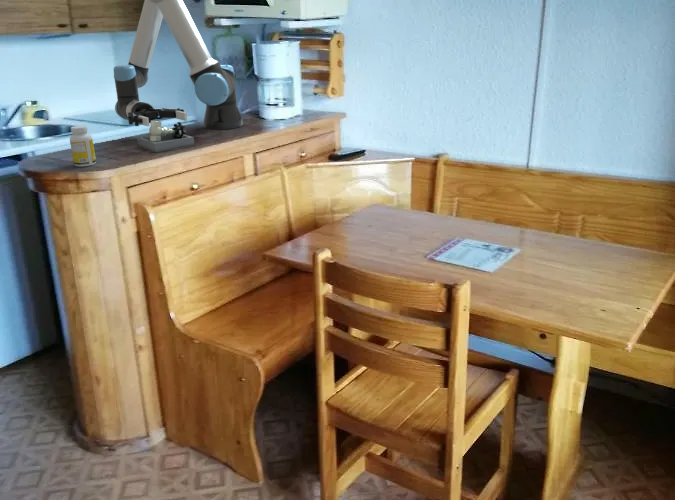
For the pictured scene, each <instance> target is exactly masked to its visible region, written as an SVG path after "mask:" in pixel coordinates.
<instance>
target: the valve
mask: <svg viewBox="0 0 675 500" xmlns="http://www.w3.org/2000/svg"><path fill="white" fill-rule="evenodd" d="M185 127H186V126H185V125H184V124H182V122H181V121H178V122H177V123H174V124H173V128H167V127H166V126H162V120H153V121H152V120H151V122H150V126H149V130H148V132H149V136H150V141H158V142H160V141H161V135H162V136H166V135H167V134H172V133H173V134H174V136H173V138H174V139H177V138H178V139H182V138H184V137H183V135H187V134H186V133H187V131H186V130H184V129H185ZM179 134H181V136H180V137H179V136H178V135H179Z"/></svg>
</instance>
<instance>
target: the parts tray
mask: <svg viewBox="0 0 675 500" xmlns="http://www.w3.org/2000/svg"><path fill="white" fill-rule="evenodd" d="M173 136H174V134H173V133H172V134H167V135H166V136H162V135H161V141H160V142H158V141H150V135H146V136H140V137H137V145H138V147H139V148H142V149H144V150H148V151H151V152H153V153H155V154H157V153H162V152H167V151H173V150H179V149H185V148H186V149H187V148H191V147H195V139H194V136H190V135H187V134H184V135H183V137H184V138H182V139H178V138H177V139H174V138H173ZM178 136H179V137H180V136H181V134H179V135H178Z"/></svg>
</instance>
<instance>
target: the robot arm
mask: <svg viewBox="0 0 675 500" xmlns="http://www.w3.org/2000/svg"><path fill="white" fill-rule="evenodd" d="M163 19H164V20H165V23H166V24H167V27H168V28H169V30H170V32H171V34H172V36H173V37H174V40H175V42H176V43H177V45H178V48H179V49H180V51H181V53H182V55H183V57H184V59H185V60H186V63H187V64H188V67H189V69H190V71H189V74H188V76H189V78H190V79H191V82H192V84H193V85H194V86H193V87H194V94H195V95H196V97H197V98H198V100H199V101H200V102H201V103H202V104H205V105H206V106H205V113H204V118H203V128H204V129H207V130H230V129H235V128H240V127H242V126H243V124H244V123H243V117H242V115H241V113H240V110H239V107H238V105H237V95H236V81H235V69H234V67H233V66H232V65H229V64H220V62H219V60H216V59H214V58H212V55H211V54H210V51H209V50H208V48H207V46H206V44H205V41H204V39H203V38H202V35H201V33H200V32H199V30H198V28H197V26H196V24H195V22H194V20H193V18H192V16H191V14H190V12H189V10H188V8H187V6H186V5H185V2H184V0H144V2H143V5H142V10H141V12H140V18H139V21H138V25H137V28H136V29H137V30H136V33H135V36H134V40H133V43H132V47H131V51H130V55H129V59H128V64H121V65H115V66H114V67H113V79H114V83H115V85H114V86H115V91H116V99H117V101H116V103H115V104H114V110H115V114H117V116H119V118H121V119H123V120H127V121H128V124H129V125H133V124H134V127H139V125H141V126H144V127H150V124H151V120H152V121H156V120H163V119H176V120H180V121H184V122H185V121H188V116H187V112H185V110H184V109H183V108H181V109H180V107H178V108H164V107H162V108H154V107H153V105H151V104H150V103H147V102H145V101H140V97H139V89H141V88H142V87H144V86H145V85H146V84H147V83H148V80H149V74H148V73H149V68H150V65H151V63H152V62H151V61H152V59H153V54H154V50H155V48H156V42H157V40H158V35H159V33H160V29H161V25H162V22H163Z"/></svg>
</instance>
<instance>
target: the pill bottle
mask: <svg viewBox="0 0 675 500" xmlns="http://www.w3.org/2000/svg"><path fill="white" fill-rule="evenodd" d="M88 131H89V130H88V126H87V125H76V126H75V125H74V126H71V127H70V132H71V133H72V135H70V137H69V144H70V149H71V154H72V160H73V165H74V166H75V167H80V168H81V167H83V168H84V167H89V166H93V165H95V164H96V163H97V158H96V152H95V144H94V139H93V136H92V135H91V134H90V133H89V132H88Z"/></svg>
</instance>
